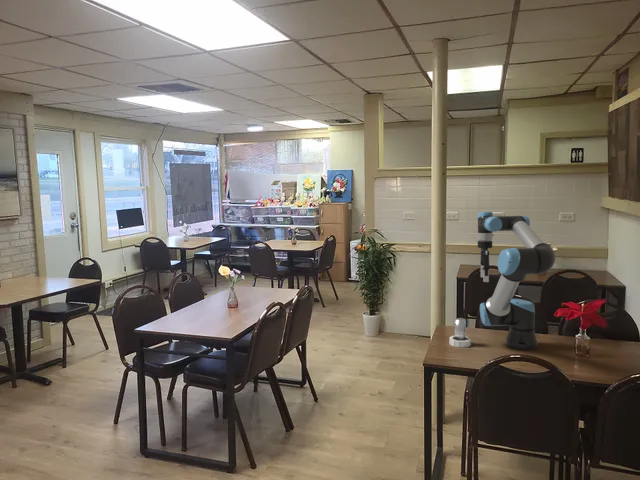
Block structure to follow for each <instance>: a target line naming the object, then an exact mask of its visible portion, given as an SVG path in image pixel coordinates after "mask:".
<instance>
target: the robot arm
mask: <svg viewBox="0 0 640 480" xmlns="http://www.w3.org/2000/svg"><path fill="white" fill-rule="evenodd" d="M530 225H531V224H530V218H529V216H526V215H504V216H503V215H502V216H501V215H500V216H496V215H495V216H494V215H493V212H492V211H479V212H478V214H477V240H478V241H477V248H479V249H480V278H483V280H482V281H483V282H484V283H490V251H489V249H492V248H493V241H492V240H493V237H494V234H493V233H494V232H495V233H497V232H504V231H505V232H507V231H508V232H509V231H510V232H511V231H512V232H513V233H514V234H515V236H516V237H517V239H519V241H520V242H521V243H522V245H523V246H524V248H523V247H519V248H518V247H516V248H515V247H511V248H505V249H502V250H501V252H500V254H499V256H498V257H497V258H498V259H497V260H498V261H497V270H498V272H499V273H500V274H501V275H500V277H499V279H498V282H497V284H496V287H495V288H494V292H493V294H492V296H490V297H489V298H488V299H487V300H486V302H481V303H480V304H479V315H480V320H481V322H482V324H483V325H484V326H485V327H486V326H487V327H503V326H504V327H505V326H506V327H507V326H509V330H508V333H507V335H506V338H505V345H506V346H507V347H510V348H512V349H517V350H525V351H527V350H530V351H531V350H535V349H537V348H538V347H539V346H538V345H539V343H538V340H537V337H536V336H537V335H536V332H535V317H536V311H535V310H536V308H535V304H534V303H533V302H532V301H528V300H526V299H521V298H514V295H515V293H516V292H517V289H518V286H519V284H520V283H521V282H523V281H525V280H526V278H527V276H528V275H541V274H542V275H543V274H544V273H547V272H549V270H551V269H552V268H553V266H554V265H555V263H556V253H555V251H554V249H553V247H552V246H551V245H550V244H549V243H546V242H544V241H543V240H542V239H541V238H540V236H538V234H537V233H536V232H535V231H534V229H532V228H531V226H530Z"/></svg>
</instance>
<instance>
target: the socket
mask: <svg viewBox="0 0 640 480" xmlns="http://www.w3.org/2000/svg"><path fill="white" fill-rule="evenodd" d="M449 345H450V346H452V347H455V348H469V347H471V346H472V338H471V337H469V336H468V335H466V340H465V341H458V340H455V335H451V336H449Z"/></svg>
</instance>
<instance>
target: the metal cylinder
mask: <svg viewBox="0 0 640 480" xmlns="http://www.w3.org/2000/svg"><path fill="white" fill-rule="evenodd" d="M466 325H467V319H466V318H463V317H455V318H454V336H455V340H458V341H465V340H466V336H467V326H466Z"/></svg>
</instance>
